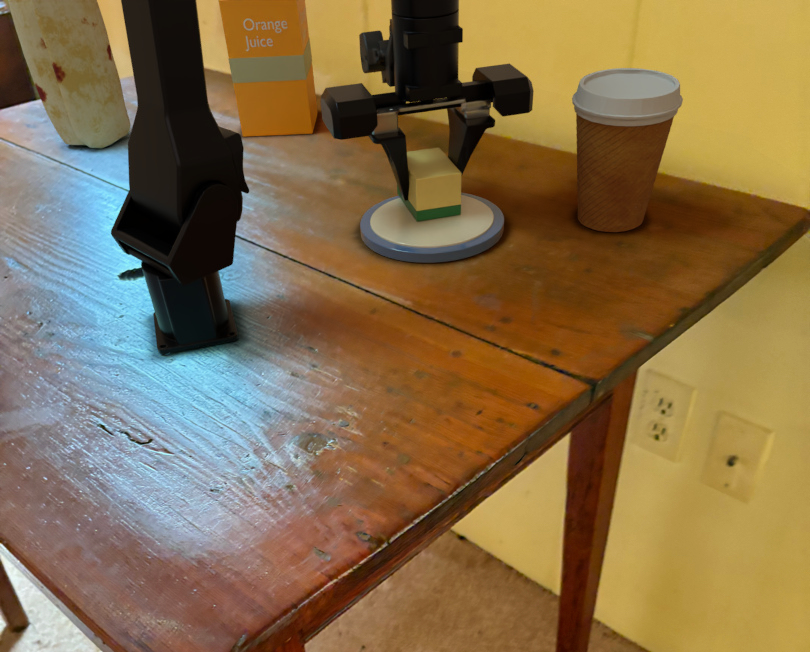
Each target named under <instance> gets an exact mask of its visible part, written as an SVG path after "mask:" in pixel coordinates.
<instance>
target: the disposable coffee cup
mask: <svg viewBox="0 0 810 652" xmlns="http://www.w3.org/2000/svg"><path fill="white" fill-rule="evenodd" d="M571 101H572V105H573V110H574V113H575V114H576V115H575V116H576V117H575V122H576V125H575V126H576V127H575V129H576V134H575V135H576V180H577V181H576V183H577V185H576V186H577V189H576V190H577V197H576V198H577V220H578V221H579V223H580V224H581V225H582V226H584V227H585V228H588V229H592V230H594V231H598V232H607V233H620V232H627V231H631V230H634V229H636V228H638V227H640V226H641V225H642V224H643V223H644V220H645V215H646V213H647V208H648V206H649V202H650V199H651V195H652V192H653V188H654V185H655V182H656V179H657V175H658V171H659V168H660V165H661V162H662V159H663V155H664V152H665V148H666V146H667V142H668V139H669V135H670V133H671V128H672V125H673V121H674V118H675V116H676V115H677V114H678V112H679V109H680V108H681V107H682V105H683V101H684V98H683V96H682V95H681V83H680V81H679V78H676V77H675V76H674V75H672V74H669V73H666V72H663V71H659V70H655V69H654V70H653V69H647V68H639V67H618V68H617V67H616V68H607V69H602V70H597V71H593V72H591V73H588V74H586V75H584V76H583V77H581V78H580V80H579V81H578V85H577V89H576V91H575V92H574V93H573V94H572V96H571Z"/></svg>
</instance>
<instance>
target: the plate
mask: <svg viewBox="0 0 810 652" xmlns="http://www.w3.org/2000/svg"><path fill="white" fill-rule="evenodd" d="M359 229H360V230H359V231H360V237H361V240H362V242H363V243H364V245H365V246H366V247H367V248H368V249H369V250H371V251H372V252H374V253H376V254H378V255H379V256H380V255H381V256H382V257H385V258H389V259H392V260H396V261H400V262H407V263H419V264H420V263H421V264H437V263H447V262H454V261H459V260H464V259H467V258H470V257H474V256H477V255H479V254H481V253H483V252H486V251H488V250H489V249H490V248H492V247H494V246H495V245H496V244H497V243H498V242H499V241H500V240H501V238H502V237H503V235H504V232H505V215H504V212H503V211H502V210H501V208H500V207H499V206H497V205H496V204H495V203H493V202H492V201H490V200H489V199H486V198H484V197H481V196H478V195H475V194H472V193H471V194H470V193H466V192H461V215H456V216H450V217H443V218H437V219H430V220H424V221H416V220H415V218H414V217H413V215H412V214H411V212H410V211H409V210H408V208H407V207H406V205H405V204H404V202H403V201H402V200H401V198H400V197H399V195H395V196H392V197H389V198H386V199H384V200H382V201H380V202H378V203H375V204H374V205H372V206H371V207H370V208H369V209H367V210H366V211H365V212H364V213H363V215H362V217H361V218H360V222H359Z"/></svg>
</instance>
